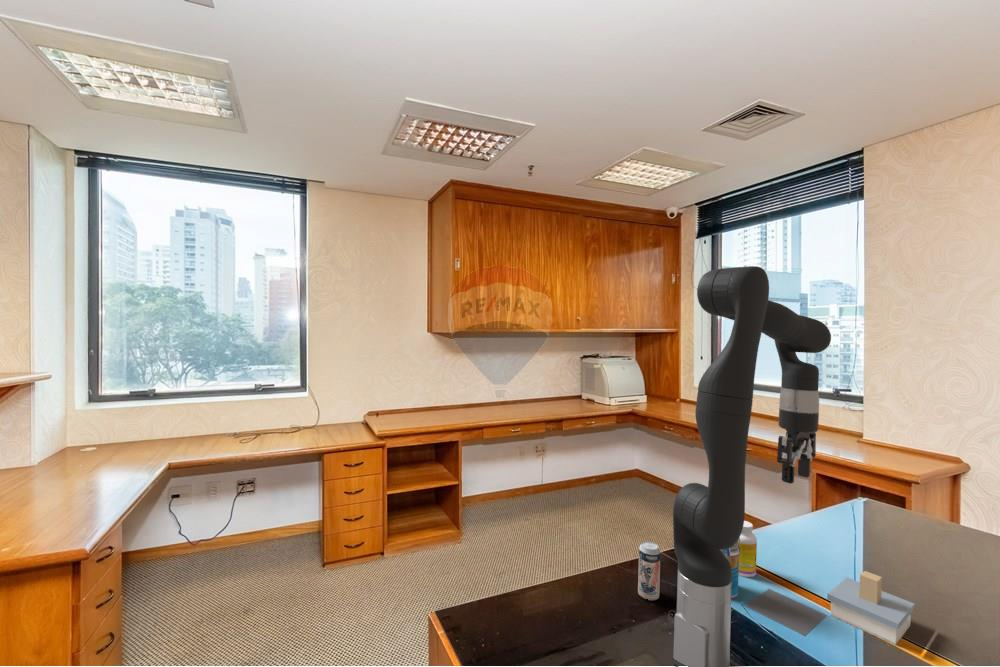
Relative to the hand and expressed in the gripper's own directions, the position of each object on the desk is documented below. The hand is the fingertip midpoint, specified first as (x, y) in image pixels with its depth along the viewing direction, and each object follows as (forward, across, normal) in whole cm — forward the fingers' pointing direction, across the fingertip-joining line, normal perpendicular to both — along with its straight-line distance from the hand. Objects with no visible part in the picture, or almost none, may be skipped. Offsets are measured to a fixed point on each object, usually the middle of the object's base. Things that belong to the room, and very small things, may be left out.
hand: (796, 479), depth 100 cm
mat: (+30, -3, 0) cm, 30 cm away
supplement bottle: (+30, +6, +14) cm, 34 cm away
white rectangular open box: (+30, +9, -12) cm, 33 cm away
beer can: (+30, -24, +21) cm, 44 cm away
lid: (+26, +9, -12) cm, 30 cm away
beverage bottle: (+30, -7, +13) cm, 33 cm away
